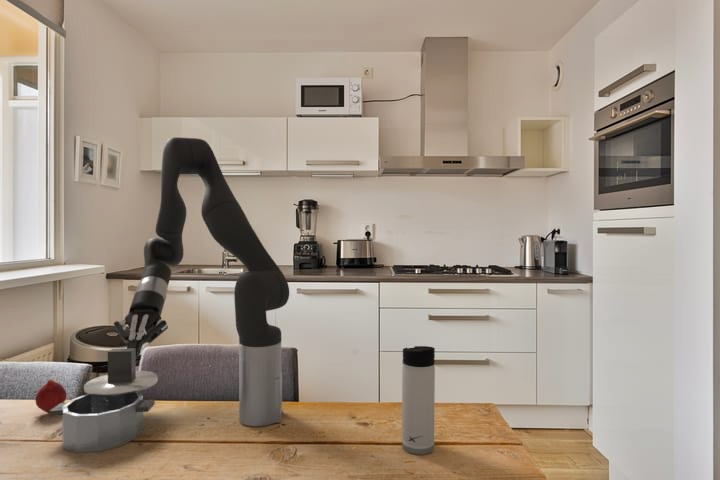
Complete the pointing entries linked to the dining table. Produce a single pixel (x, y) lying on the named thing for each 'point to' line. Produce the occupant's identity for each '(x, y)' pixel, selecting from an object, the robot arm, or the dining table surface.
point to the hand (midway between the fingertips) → (131, 356)
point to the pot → (101, 421)
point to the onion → (50, 396)
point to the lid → (121, 376)
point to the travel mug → (418, 399)
